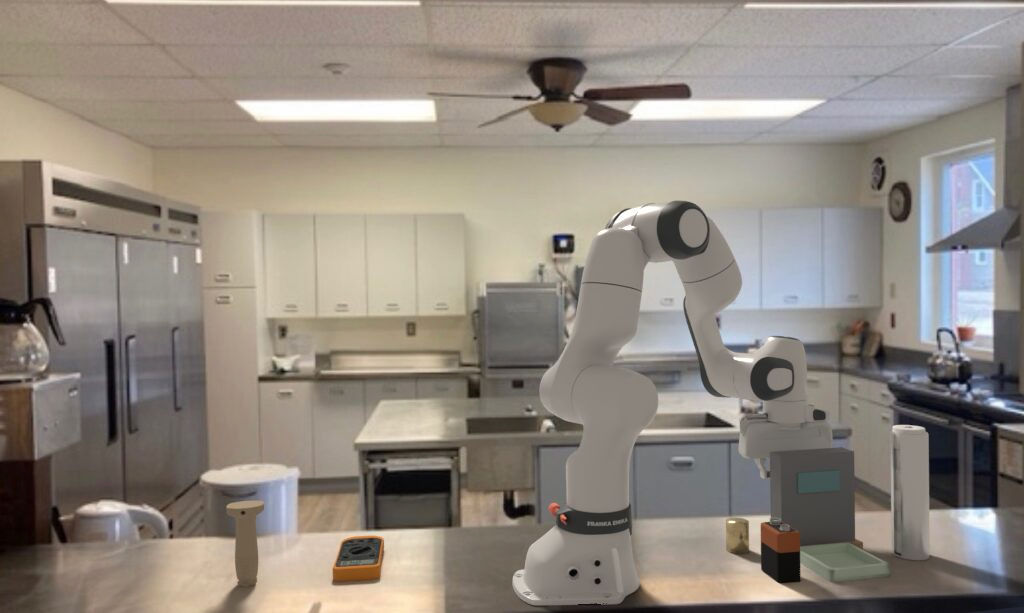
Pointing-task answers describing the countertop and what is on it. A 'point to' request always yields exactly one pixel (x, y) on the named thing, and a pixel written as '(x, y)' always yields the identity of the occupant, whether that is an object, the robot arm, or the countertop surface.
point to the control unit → (815, 494)
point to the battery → (780, 551)
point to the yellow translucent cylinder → (737, 535)
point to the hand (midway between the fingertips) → (785, 476)
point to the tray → (843, 562)
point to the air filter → (910, 492)
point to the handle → (246, 540)
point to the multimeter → (359, 559)
